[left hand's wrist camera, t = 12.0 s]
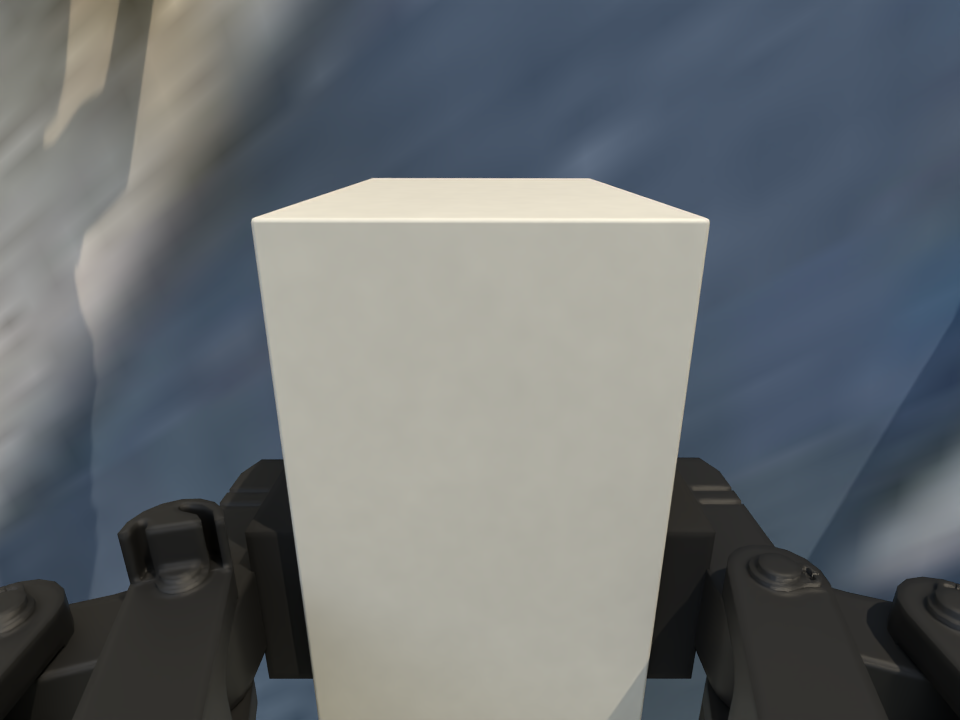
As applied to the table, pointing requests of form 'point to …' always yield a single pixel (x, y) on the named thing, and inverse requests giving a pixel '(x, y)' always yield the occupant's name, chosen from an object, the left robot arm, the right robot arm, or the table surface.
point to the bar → (480, 438)
